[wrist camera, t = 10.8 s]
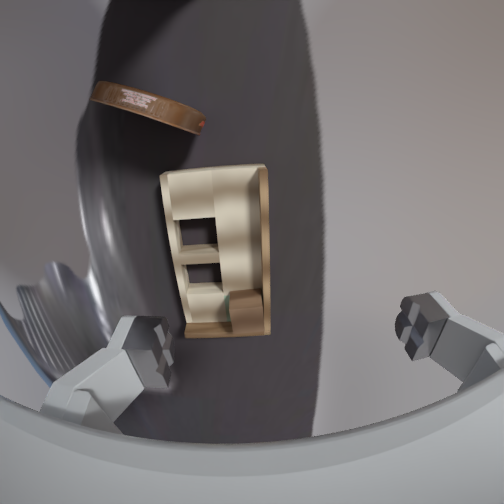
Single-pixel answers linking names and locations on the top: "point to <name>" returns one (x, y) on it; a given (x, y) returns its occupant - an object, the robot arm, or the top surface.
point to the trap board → (220, 241)
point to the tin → (149, 106)
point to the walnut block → (246, 311)
